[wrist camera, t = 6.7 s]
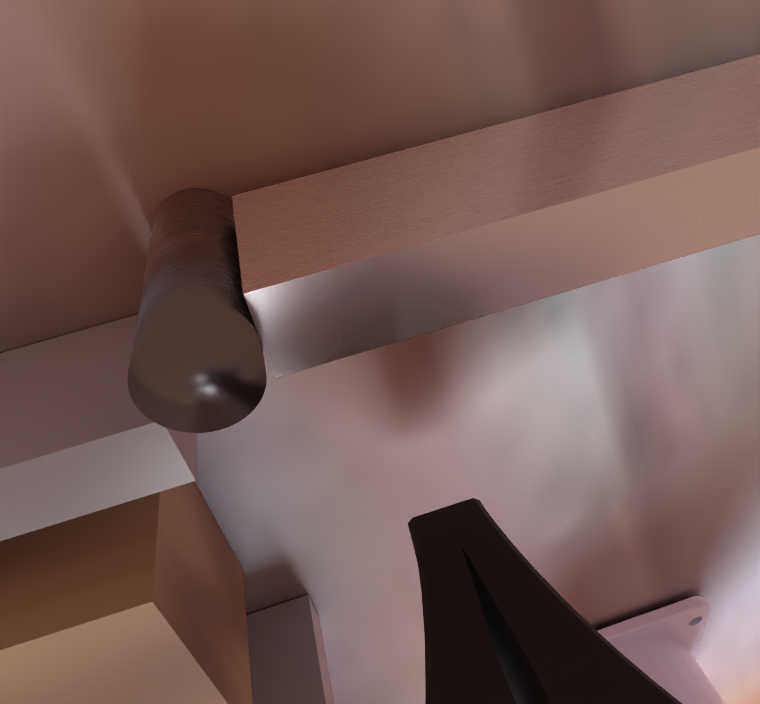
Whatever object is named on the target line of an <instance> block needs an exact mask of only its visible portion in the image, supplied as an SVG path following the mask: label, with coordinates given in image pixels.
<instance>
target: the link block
mask: <svg viewBox="0 0 760 704" xmlns="http://www.w3.org/2000/svg"><path fill="white" fill-rule="evenodd" d="M0 704H253V703H252V689H251V674H250V660H249V645H248V631H247V617H246V602H245V588H244V573H243V569H242V568H241V566H240V564H239V562H238V560H237V558H236V556H235V555H234V553H233V551H232V549H231V547H230V545H229V544H228V542H227V540H226V538H225V536H224V534H223V532H222V531H221V529H220V527H219V525H218V523H217V521H216V519H215V518H214V516H213V514H212V512H211V510H210V508H209V507H208V505H207V503H206V501H205V499H204V497H203V495H202V494H201V492H200V490H199V488H198V486H197V484H196V483H195V481H193V482H190V483H187V484H183V485H180V486H177V487H174V488H170V489H167V490H164V491H161V492H157V493H154V494H151V495H148V496H145V497H141V498H138V499H135V500H132V501H128V502H125V503H122V504H119V505H116V506H112V507H109V508H106V509H103V510H99V511H96V512H93V513H90V514H87V515H83V516H80V517H77V518H74V519H70V520H67V521H64V522H61V523H57V524H54V525H51V526H48V527H45V528H41V529H38V530H35V531H32V532H28V533H25V534H22V535H19V536H16V537H12V538H9V539H6V540H3V541H0Z"/></svg>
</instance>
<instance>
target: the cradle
mask: <svg viewBox="0 0 760 704" xmlns="http://www.w3.org/2000/svg"><path fill="white" fill-rule="evenodd" d="M137 316H138V314H137V315H133V316H130V317H126V318H123V319H119V320H116V321H112V322H109V323H105V324H102V325H98V326H94V327H91V328H87V329H84V330H80V331H77V332H73V333H70V334H66V335H63V336H59V337H56V338H52V339H48V340H45V341H41V342H38V343H34V344H31V345H27V346H24V347H20V348H17V349H13V350H10V351H6V352H3V353H0V541H3V540H6V539H9V538H12V537H16V536H19V535H22V534H25V533H28V532H32V531H35V530H38V529H41V528H45V527H48V526H51V525H54V524H57V523H61V522H64V521H67V520H70V519H74V518H77V517H80V516H83V515H87V514H90V513H93V512H96V511H99V510H103V509H106V508H109V507H112V506H116V505H119V504H122V503H125V502H128V501H132V500H135V499H138V498H141V497H145V496H148V495H151V494H154V493H157V492H161V491H164V490H167V489H170V488H174V487H177V486H180V485H183V484H187V483H190V482H193V481H196V433H187V432H180V431H176V430H171V429H169V428H166V427H163V426H161V425H159V424H157V423H155V422H153V421H152V420H150V419H149V418H147V417H146V416H145V415H144V414H143V413H142V412H141V411H140V410H139V409H138V408H137V407H136V405H135V404H134V402H133V400H132V398H131V396H130V393H129V390H128V383H127V379H128V370H129V364H130V358H131V352H132V346H133V340H134V334H135V328H136V322H137ZM246 617H247V631H248V645H249V660H250V674H251V689H252V703H253V704H334V701H333V695H332V690H331V684H330V678H329V672H328V666H327V660H326V655H325V649H324V643H323V637H322V631H321V625H320V620H319V616H318V614H317V612H316V610H315V608H314V606H313V604H312V602H311V599H310V597H309V595H305V596H302V597H299V598H296V599H293V600H290V601H287V602H284V603H281V604H278V605H275V606H272V607H269V608H266V609H263V610H260V611H257V612H254V613H251V614H248V615H246Z"/></svg>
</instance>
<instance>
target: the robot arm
mask: <svg viewBox="0 0 760 704" xmlns="http://www.w3.org/2000/svg"><path fill="white" fill-rule="evenodd" d="M408 526H409V530H410V534H411V538H412V542H413V546H414V550H415V554H416V558H417V562H418V567H419V575H420V583H421V591H422V603H423V617H424V631H425V674H426V704H725V703H724V701H723V700H722V699H721V697H720V696H719V694H718V693H717V691H716V690H715V688H714V687H713V685H712V684H711V682H710V681H709V679H708V678H707V676H706V675H705V674H704V672H703V671H702V669H701V668H700V666H699V665H698V663H697V662H696V660H695V656H696V653H697V649H698V646H699V643H700V639H701V636H702V633H703V629H704V626H705V623H706V619H707V616H708V613H709V609H710V605H709V604H708V603H707V602H706V600H705V599H704V598H703V597H702V596H694V597H690V598H687V599H685V600H682V601H679V602H676V603H673V604H670V605H668V606H665V607H662V608H659V609H656V610H653V611H651V612H648V613H645V614H642V615H639V616H636V617H634V618H631V619H628V620H625V621H622V622H620V623H617V624H614V625H611V626H608V627H605V628H603V629H600V630H596V629H594V628H593V627H592V626H591V625H590V624H589V623H588V622H587V621H586V620H585V619H584V618H583V617H582V616H581V615H580V614H579V613H578V612H577V611H576V610H575V609H574V608H573V607H572V606H570V605H569V604H568V603H567V602H566V601H565V600H564V599H563V598H562V597H561V596H560V594H559V593H558V592H557V591H556V590H555V589H554V588H553V587H552V586H551V585H550V584H549V583H548V582H547V581H546V580H545V579H544V578H543V577H542V576H541V575H540V574H539V573H538V572H537V570H536V569H535V568H534V567H533V566H532V565H531V564H530V563H529V562H528V561H527V560H526V558H525V557H524V556H523V555H522V554H521V553H520V552H519V550H518V549H517V548H516V547H515V546H514V545H513V543H512V542H511V541H510V540H509V539H508V538H507V536H506V535H505V534H504V533H503V531H502V530H501V529H500V528H499V526H498V525H497V524H496V523H495V521H494V520H493V519H492V517H491V516H490V515H489V513H488V512H487V511H486V509H485V508H484V507H483V505H482V504H481V502H480V501H479V500H477V499H475V498H472V499H469V500H466V501H463V502H460V503H456V504H453V505H450V506H447V507H444V508H441V509H438V510H435V511H432V512H429V513H426V514H423V515H420V516H417V517H413V518H412V519H411V520H410V521H409V523H408Z"/></svg>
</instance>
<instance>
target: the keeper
mask: <svg viewBox="0 0 760 704" xmlns="http://www.w3.org/2000/svg"><path fill="white" fill-rule="evenodd" d="M232 201H233V204H232V203H231V202H230V201H229V200H228V199H226V198H225V197H223V196H222V195H220V194H218V193H215V192H213V191H209V190H204V189H188V190H183V191H180V192H177V193H175V194H173V195H172V196H170V197H169V198H167V199H166V200H165V201H164V202H163V203H162V204H161V205H160V207H159V208H158V210H157V212H156V215H155V217H154V222H153V228H152V234H151V239H150V245H149V251H148V257H147V263H146V269H145V275H144V281H143V287H142V293H141V299H140V305H139V311H138V316H137V322H136V328H135V334H134V340H133V346H132V352H131V358H130V364H129V370H128V379H127V383H128V390H129V393H130V396H131V398H132V400H133V402H134V404H135V405H136V407H137V408H138V409H139V410H140V411H141V412H142V413H143V414H144V415H145V416H146V417H147V418H149V419H150V420H152V421H153V422H155V423H157V424H159V425H161V426H163V427H166V428H169V429H171V430H176V431H180V432H187V433H204V432H212V431H216V430H220V429H223V428H226V427H229V426H231V425H233V424H235V423H237V422H239V421H241V420H242V419H244V418H245V417H246V416H247V415H249V414H250V413H251V412H252V411H253V410H254V409H255V408H256V406H257V405H258V404H259V402H260V400H261V398H262V396H263V394H264V391H265V387H266V370H265V363H264V356H263V349H262V345H263V348H264V350H265V353H266V356H267V358H268V361H269V363H270V366H271V369H272V371H273V374H274V377H275V378H277V377H281V376H284V375H287V374H291V373H294V372H297V371H301V370H304V369H307V368H311V367H314V366H317V365H321V364H324V363H327V362H331V361H334V360H338V359H341V358H344V357H348V356H351V355H354V354H358V353H361V352H364V351H368V350H371V349H374V348H378V347H381V346H384V345H388V344H391V343H395V342H398V341H401V340H405V339H408V338H411V337H415V336H418V335H421V334H425V333H428V332H431V331H435V330H438V329H442V328H445V327H448V326H452V325H455V324H458V323H462V322H465V321H468V320H472V319H475V318H478V317H482V316H485V315H488V314H492V313H495V312H499V311H502V310H505V309H509V308H512V307H515V306H519V305H522V304H525V303H529V302H532V301H535V300H539V299H542V298H545V297H549V296H552V295H556V294H559V293H562V292H566V291H569V290H572V289H576V288H579V287H582V286H586V285H589V284H592V283H596V282H599V281H602V280H606V279H609V278H613V277H616V276H619V275H623V274H626V273H629V272H633V271H636V270H639V269H643V268H646V267H649V266H653V265H656V264H659V263H663V262H666V261H670V260H673V259H676V258H680V257H683V256H686V255H690V254H693V253H696V252H700V251H703V250H706V249H710V248H713V247H717V246H720V245H723V244H727V243H730V242H733V241H737V240H740V239H743V238H747V237H750V236H753V235H757V234H760V54H757V55H754V56H750V57H746V58H743V59H739V60H735V61H731V62H728V63H724V64H720V65H717V66H713V67H709V68H705V69H702V70H698V71H694V72H691V73H687V74H683V75H679V76H676V77H672V78H668V79H665V80H661V81H657V82H653V83H650V84H646V85H642V86H639V87H635V88H631V89H627V90H624V91H620V92H616V93H613V94H609V95H605V96H601V97H598V98H594V99H590V100H587V101H583V102H579V103H575V104H572V105H568V106H564V107H561V108H557V109H553V110H549V111H546V112H542V113H538V114H535V115H531V116H527V117H523V118H520V119H516V120H512V121H509V122H505V123H501V124H497V125H494V126H490V127H486V128H483V129H479V130H475V131H471V132H468V133H464V134H460V135H456V136H453V137H449V138H445V139H442V140H438V141H434V142H430V143H427V144H423V145H419V146H416V147H412V148H408V149H404V150H401V151H397V152H393V153H390V154H386V155H382V156H378V157H375V158H371V159H367V160H364V161H360V162H356V163H352V164H349V165H345V166H341V167H338V168H334V169H330V170H326V171H323V172H319V173H315V174H312V175H308V176H304V177H300V178H297V179H293V180H289V181H286V182H282V183H278V184H274V185H271V186H267V187H263V188H260V189H256V190H252V191H248V192H245V193H241V194H237V195H234V196H232Z"/></svg>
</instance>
